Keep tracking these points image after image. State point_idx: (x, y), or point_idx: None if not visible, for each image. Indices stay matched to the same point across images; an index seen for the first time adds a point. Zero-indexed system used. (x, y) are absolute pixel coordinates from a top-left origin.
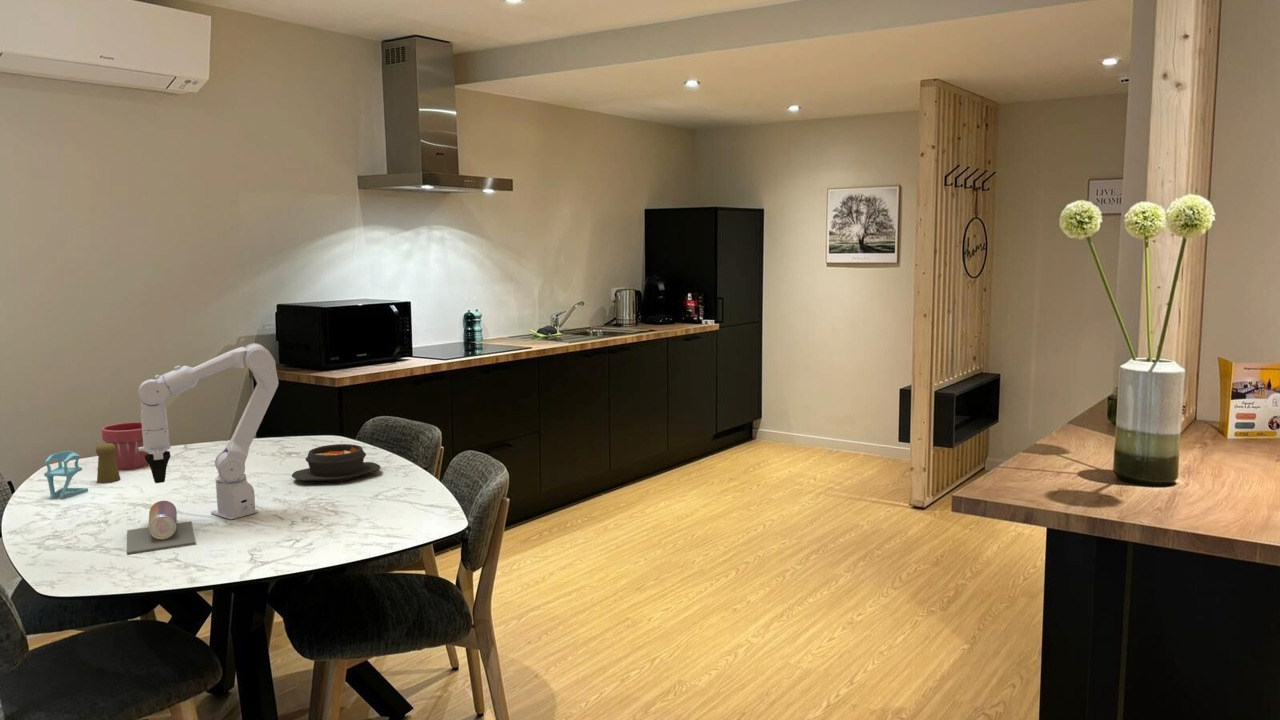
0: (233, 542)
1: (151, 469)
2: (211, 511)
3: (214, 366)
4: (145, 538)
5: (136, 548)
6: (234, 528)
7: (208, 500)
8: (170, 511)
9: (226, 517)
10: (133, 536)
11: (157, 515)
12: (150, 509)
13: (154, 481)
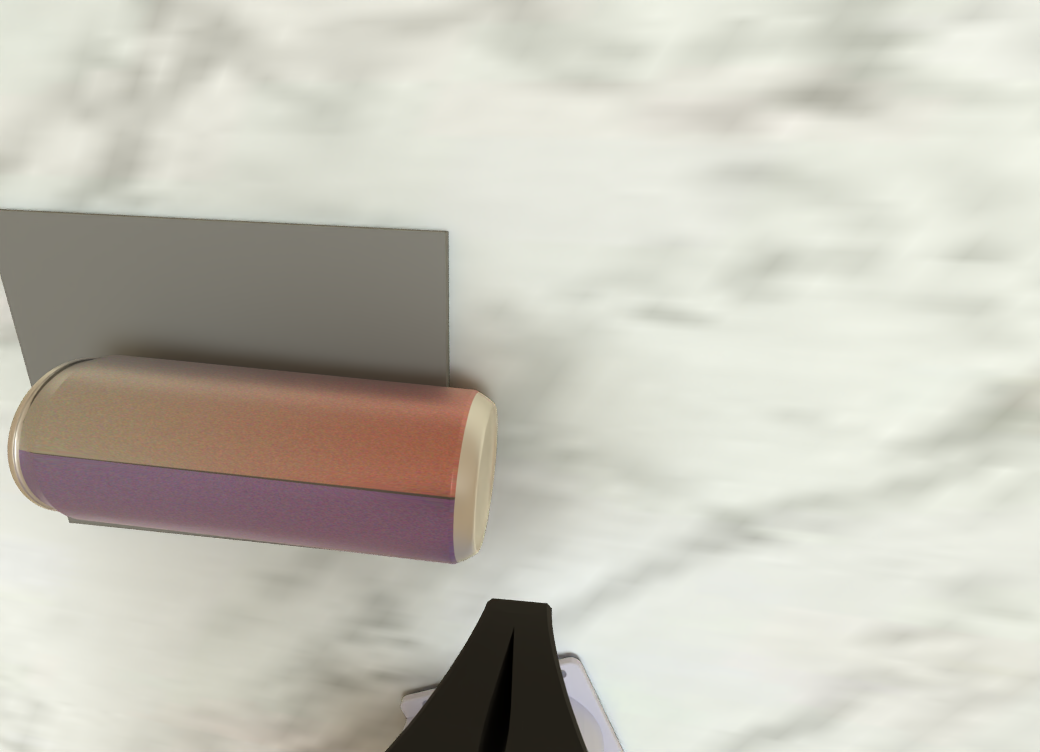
0: (61, 636)
1: (394, 741)
2: (575, 666)
3: None
4: (212, 321)
5: (41, 263)
6: (264, 679)
7: (883, 693)
8: (177, 528)
9: (426, 693)
10: (280, 261)
11: (31, 449)
12: (428, 419)
13: (486, 609)
